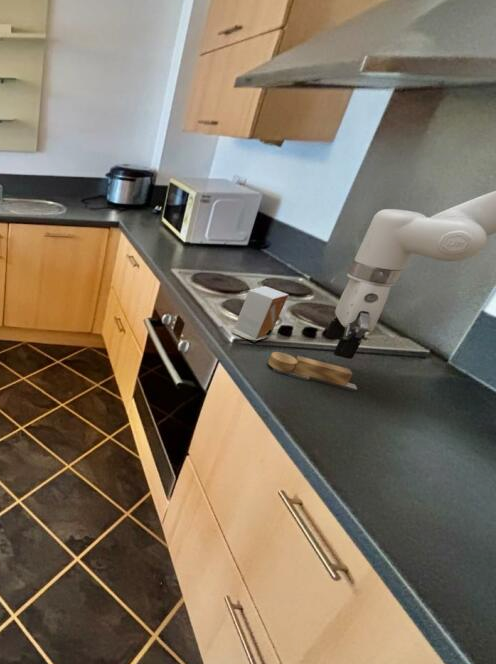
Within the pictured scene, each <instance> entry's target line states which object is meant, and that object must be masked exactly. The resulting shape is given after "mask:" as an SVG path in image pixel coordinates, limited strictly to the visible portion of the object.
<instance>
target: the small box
mask: <svg viewBox="0 0 496 664" xmlns="http://www.w3.org/2000/svg"><path fill="white" fill-rule="evenodd" d="M288 297H289V293H286V292H283V291H280V290H277V289H275V288H272V287H269V286H266V285H264V286H260V287H255V288H252V289H248V291H247V294H246V297H245V299H244V302H243V305H242V307H241V309H240V312H239V315H238V317H237V320H236V321H235V324H234V327H233V329H234V328H235V329H237V330H239V331H241V332H243V333H245V334H247V335H249V336H251V337H253V338H255V339H258V338H260V337H263V336H265V335H266V334H267V333H268V332H269V330H273V331H274V329H275V327H276V324H277V322H278V319H279V317H280V315H281V313H282V310H283V308H284V306H285V304H286V302H287V300H288Z"/></svg>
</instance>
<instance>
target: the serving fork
mask: <svg viewBox="0 0 496 664" xmlns="http://www.w3.org/2000/svg"><path fill="white" fill-rule="evenodd" d="M271 368H272V372H275V373H278V374H282V375H284V376H285V375H286V376H288V377H291V378H295V379H298V380H301V381H305V382H309V381H314V382H318V383H321V384H325V385H328V386H331V387H335V388H339V389H343V390H346V391H350V392H354V393H357V391H358V387H357V385H356V383H355V384H354V383H351V382H348V384H347V386H343V385H339V384H335V383H332V382H328V381H324V380H321V379H317V378H313V377H310V376H306V375H302V374H299V373H295V372H293V371H292V372H283V371H279V370H277V369H275V368H273V367H271Z"/></svg>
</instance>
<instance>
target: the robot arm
mask: <svg viewBox="0 0 496 664" xmlns="http://www.w3.org/2000/svg"><path fill="white" fill-rule="evenodd" d="M494 234H496V190H493V191H491V192H489V193H488V192H487V193H486V194H482V195H480V196H478V197H474V198H473V199H472V198H471V199H470V200H467V201H465V202H462V203H460V204H457V205H454V206H452V207H450V208H447V209H444V210H442V211H440V212H438V213H435V214H433V215H432V216H430V217H427V216H426V215H425V214H423V213H421V212H417V211H411V210H405V209H396V208H385V209H381V210H379V211H377V212H376V213H375V214H374V216H373V218H372V220H371V221H370V224H369V226H368V228H367V231H366V232H365V235H364V238H363V240H362V241H361V244H360V246H359V248H358V250H357V252H356V255H355V257H354V259H353V261H352V263H351V266H350V268H349V270H348V272H347V274H346V276H347V277H348V278H349V280H348V281H347V284H346V286H345V288H344V290H343V292H342V294H341V296H340V298H339V299H338V302H337V304H336V307H335V311H334V313H335V314H334V315H333V316H332V320H331V321H330V323H329V325H328V328H327V329H326V332H325V334H324V337H326V338H329V339H332V340H338V342H337V345H336V347H335V348H334V351H333V355H334V356H336V357H339V358H345V359H348V360H352V359H354V357H355V355H356V353H357V351H358V349H359V347H360V345H361V344H362V342H363V339H365V338H366V333H372V332H374V329H375V327H376V326H377V323H378V321H379V319H380V317H381V315H382V312H383V309H384V307H385V305H386V302H387V300H388V297H389V293H390V291H391V287H394V286H396V284H397V282H398V280H399V278H400V276H401V274H402V272H403V270H404V268H405V266H406V264H407V263H408V261H409V259H410V257H411V255H412V254H415V255H419V256H422V257H426V258H430V259H433V260H435V261H440V262H441V261H442V262H460V261H464V260H467V259H470V258H472V257H475V256H476V255H478V254H479V253H480V252H481V251H482V250H483V249H484V247H485V245H486V243H487V237H488V236H492V235H494Z"/></svg>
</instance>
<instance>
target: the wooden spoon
mask: <svg viewBox="0 0 496 664" xmlns="http://www.w3.org/2000/svg"><path fill="white" fill-rule="evenodd" d="M267 364H268V365H269V366H270V367H271V368H272V367H273V368H275V369H277V370H279V371H283V372H292V371H293V372H295V373H299V374H302V375H306V376H310V377H313V378H317V379H321V380H324V381H328V382H332V383H335V384H339V385H343V386H347V384H348V383H350V380H351V378H352V377H353V372H352V371H351V368H347V367H343V366H339V365H335V364H332V363H328V362H325V361H324V362H323V361H320V360H316V359H313V358H310V357H306V356H305V357H304V356H301V355H297V356H296V357H294V356H293V355H290V354H288V353H285V352H280V351H273V352H272V353H271V354H270V356H269V358H268V360H267Z"/></svg>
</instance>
